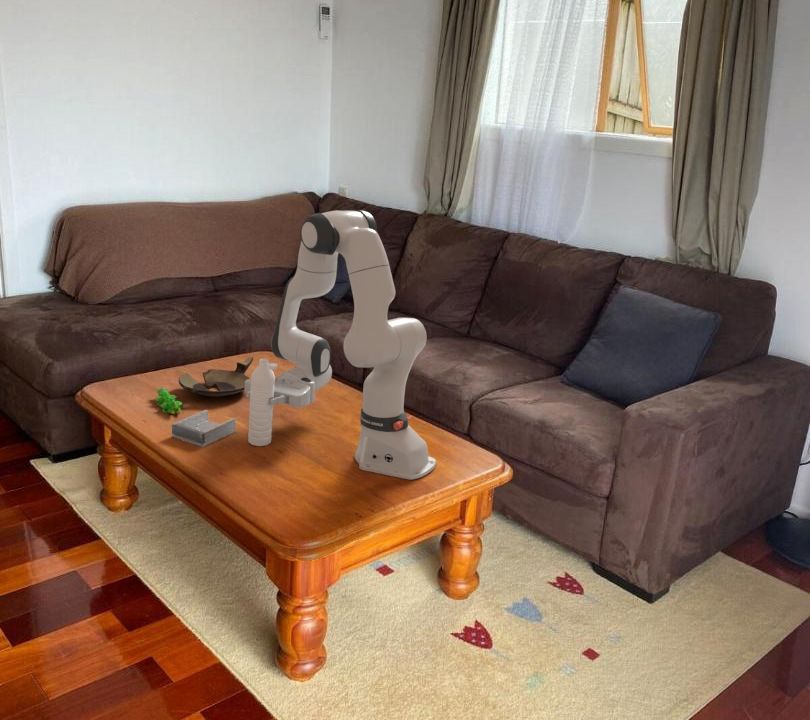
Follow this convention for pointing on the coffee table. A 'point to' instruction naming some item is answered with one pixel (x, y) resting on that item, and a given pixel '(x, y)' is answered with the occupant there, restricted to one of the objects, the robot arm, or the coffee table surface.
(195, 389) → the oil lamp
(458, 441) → the coffee table surface
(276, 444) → the coffee table surface
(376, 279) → the robot arm
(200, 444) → the keeper cradle
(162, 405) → the crocodile figurine
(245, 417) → the coffee table surface
